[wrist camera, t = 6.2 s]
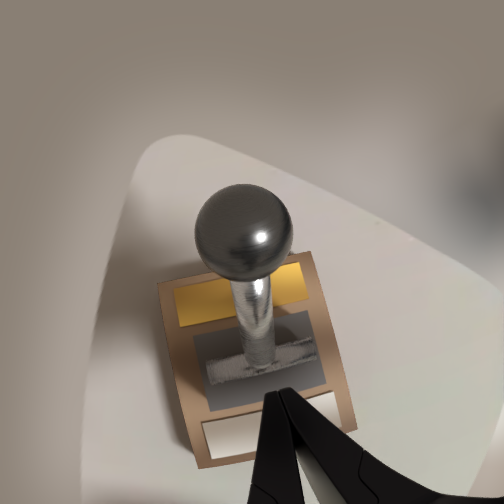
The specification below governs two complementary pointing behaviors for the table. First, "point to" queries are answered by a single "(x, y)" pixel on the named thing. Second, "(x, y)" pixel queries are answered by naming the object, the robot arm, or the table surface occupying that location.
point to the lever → (249, 276)
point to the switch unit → (229, 343)
